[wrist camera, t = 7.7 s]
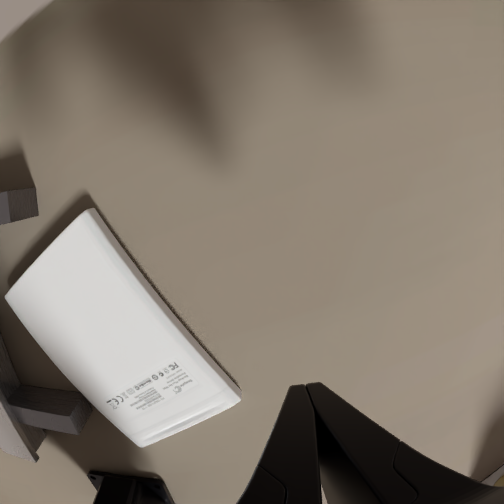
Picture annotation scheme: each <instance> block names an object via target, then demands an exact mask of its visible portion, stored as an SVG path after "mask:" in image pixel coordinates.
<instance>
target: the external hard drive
mask: <svg viewBox="0 0 504 504" xmlns="http://www.w3.org/2000/svg"><path fill="white" fill-rule="evenodd" d="M4 297H5V299H6V301H7V302H8V303H9V305H10V306H11V308H12V309H13V311H14V312H15V314H16V315H17V316H18V318H19V319H20V321H21V322H22V323H23V325H24V326H25V327H26V329H27V330H28V331H29V333H30V334H31V335H32V337H33V338H34V339H35V340H36V342H37V343H38V344H39V345H40V347H41V348H42V349H43V350H44V352H45V353H46V354H47V355H48V356H49V358H50V359H51V360H52V361H53V362H54V364H55V365H56V366H57V367H58V368H59V369H60V370H61V372H62V373H63V374H64V375H65V376H66V377H67V378H68V379H69V381H70V382H71V383H72V384H73V385H74V386H75V387H76V388H77V389H78V390H79V391H80V392H81V393H82V394H83V395H84V396H85V397H86V398H87V399H88V400H89V401H90V402H91V403H92V404H93V405H94V406H95V407H96V408H97V409H98V410H99V411H100V412H101V413H102V414H103V415H104V416H105V417H106V418H107V419H108V420H109V421H110V422H111V423H113V424H114V425H115V426H116V427H117V428H118V429H119V430H120V431H121V432H123V433H124V434H125V435H126V436H127V437H128V438H129V439H130V440H132V441H133V442H134V443H135V444H136V445H138V446H139V447H145V446H147V445H150V444H152V443H155V442H157V441H159V440H161V439H164V438H166V437H168V436H171V435H173V434H175V433H178V432H180V431H182V430H184V429H187V428H189V427H191V426H193V425H195V424H198V423H200V422H202V421H204V420H206V419H208V418H210V417H212V416H214V415H216V414H218V413H220V412H222V411H224V410H226V409H228V408H230V407H232V406H234V405H235V404H237V403H238V402H239V401H240V400H241V398H242V396H241V395H242V393H241V390H240V389H239V388H238V386H237V385H236V384H235V383H234V382H233V381H232V380H231V379H230V378H229V377H228V376H227V375H226V373H225V372H224V371H223V370H222V369H221V368H220V367H219V366H218V365H217V364H216V363H215V361H214V360H213V359H212V358H211V357H210V356H209V355H208V353H207V352H206V351H205V350H204V349H203V348H202V347H201V346H200V344H199V343H198V342H197V341H196V340H195V339H194V337H193V336H192V335H191V334H190V333H189V332H188V330H187V329H186V328H185V327H184V326H183V324H182V323H181V322H180V321H179V320H178V318H177V317H176V316H175V315H174V314H173V312H172V311H171V310H170V309H169V307H168V306H167V305H166V304H165V303H164V301H163V300H162V299H161V298H160V296H159V295H158V294H157V293H156V291H155V290H154V289H153V288H152V286H151V285H150V284H149V282H148V281H147V280H146V278H145V277H144V276H143V275H142V273H141V272H140V271H139V269H138V268H137V267H136V265H135V264H134V263H133V261H132V260H131V259H130V257H129V256H128V255H127V253H126V252H125V251H124V249H123V248H122V247H121V245H120V244H119V242H118V241H117V240H116V238H115V237H114V235H113V234H112V233H111V231H110V230H109V228H108V227H107V225H106V224H105V223H104V221H103V220H102V218H101V217H100V215H99V214H98V212H97V211H96V209H95V208H90V209H86V210H85V211H84V212H82V213H81V214H80V215H79V216H78V217H77V218H76V219H75V220H74V221H73V222H72V223H71V224H70V225H69V226H68V227H67V228H66V229H65V230H64V231H63V232H62V233H61V234H60V235H59V236H58V237H57V238H56V239H55V240H54V241H53V242H52V243H51V244H50V245H49V246H48V247H47V248H46V249H45V250H44V251H43V252H42V254H41V255H40V256H39V257H38V258H37V259H36V260H35V261H34V262H33V263H32V265H31V266H30V267H29V268H28V269H27V270H26V271H25V272H24V273H23V275H22V276H21V277H20V278H19V279H18V281H17V282H16V283H15V284H14V285H13V286H12V287H11V289H10V290H9V291H8V293H7V294H6V295H5V296H4Z"/></svg>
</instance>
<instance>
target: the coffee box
mask: <svg viewBox="0 0 504 504" xmlns="http://www.w3.org/2000/svg"><path fill="white" fill-rule="evenodd" d="M481 483H484V484H487V485H491V486H504V465H503V466H502V467H501V468H499V469H498V470H497V471H496V472H494V473H493V474H492V475H490V476H489V477H488V478H486V479H485V480H484V481H482V482H481Z"/></svg>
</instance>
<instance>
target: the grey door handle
mask: <svg viewBox="0 0 504 504" xmlns="http://www.w3.org/2000/svg"><path fill="white" fill-rule="evenodd" d="M35 216H38V208H37V199H36V190H35V188H28V189H19V190H11V191H5V192H2V193H0V225H1V224H6V223H11V222H15V221H19V220H23V219H27V218H31V217H35ZM91 412H92V409H91V407H90V404H89V402H88V399H87V398H86V397H85V396H84V395H83V394H82V393H81V392H71V391H63V390H55V389H47V388H40V387H34V386H28V385H22V384H20V382H19V379H18V377H17V375H16V372H15V370H14V368H13V365H12V363H11V360H10V358H9V355H8V352H7V350H6V347H5V344H4V341H3V338H2V336H1V333H0V447H1V449H2V450H3V452H5V453H8V454H11V455H14V456H17V457H20V458H23V459H26V460H29V461H32V462H35V463H36V462H37V461H38V459H39V456H38V455H37V453H36V451H37V450H38V448H39V447H40V445H41V443H42V442H43V440H44V439H45V437H46V434H45V432H44V430H43V429H42V428H44V429H49V430H54V431H59V432H64V433H69V434H75V435H79V433H80V432H81V430H82V428H83V426H84V425H85V423H86V421H87V419H88V418H89V416H90V414H91Z"/></svg>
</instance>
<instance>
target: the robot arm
mask: <svg viewBox="0 0 504 504" xmlns="http://www.w3.org/2000/svg"><path fill="white" fill-rule="evenodd" d="M87 476H88V478H89V479H90V481H91V482H92V484H93V485H94V487H95V488H96V490H97V494H96V496H95V499H94V502H93V504H174V502H173V500H172V498H171V496H170V494H169V492H168V490H167V488H166V486H165V484H164V482H162V481H161V480H157V479H147V478H137V477H129V476H121V475H114V474H108V473H102V472H96V471H89V472H88V475H87ZM321 484H322V488H323V491H324V494H325V497H326V500H327V503H328V504H504V486H491V485H487V484H484V483H481V482H478V481H476V480H474V479H471V478H469V477H467V476H465V475H462V474H460V473H458V472H456V471H454V470H452V469H449V468H447V467H445V466H443V465H441V464H439V463H437V462H435V461H433V460H432V459H430V458H428V457H426V456H424V455H423V454H421V453H419V452H418V451H416V450H415V449H413V448H412V447H410V446H409V445H407V444H406V443H404V442H403V441H401V442H400V439H398V438H397V437H395V436H394V435H392V434H391V433H389V432H388V431H387V430H385V429H384V428H382V427H381V426H379V425H378V424H377V423H375V422H374V421H372V420H371V419H370V418H368V417H367V416H365V415H364V414H363V413H361V412H360V411H359V410H357V409H356V408H354V407H353V406H352V405H350V404H349V403H348V402H346V401H345V400H344V399H342V398H341V397H340V396H338V395H337V394H336V393H334V392H333V391H332V390H330V389H329V388H328V387H326V386H325V385H324V384H322V383H321V382H316V383H308V384H306V386H305V385H304V384H300V385H292V386H290V387H289V389H288V392H287V395H286V397H285V400H284V402H283V405H282V407H281V410H280V412H279V415H278V417H277V420H276V422H275V425H274V427H273V429H272V432H271V434H270V437H269V439H268V441H267V444H266V446H265V448H264V451H263V453H262V455H261V458H260V460H259V462H258V464H257V467H256V468H255V471H254V473H253V475H252V477H251V479H250V481H249V483H248V485H247V487H246V489H245V491H244V492H243V494H242V495H241V497H240V499H239V500H238V502H237V503H236V504H322V493H321Z"/></svg>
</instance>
